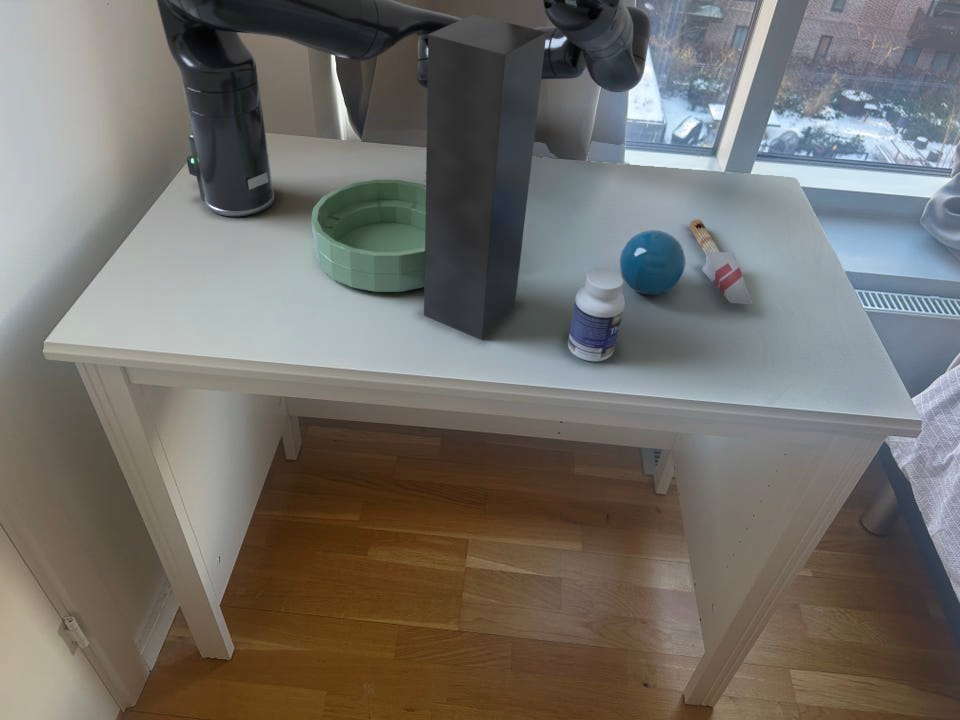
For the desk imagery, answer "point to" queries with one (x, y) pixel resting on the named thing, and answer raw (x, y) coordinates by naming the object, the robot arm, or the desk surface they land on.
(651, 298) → the desk surface
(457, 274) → the pedestal
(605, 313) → the pill bottle
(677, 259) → the ball
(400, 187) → the bowl
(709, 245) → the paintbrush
